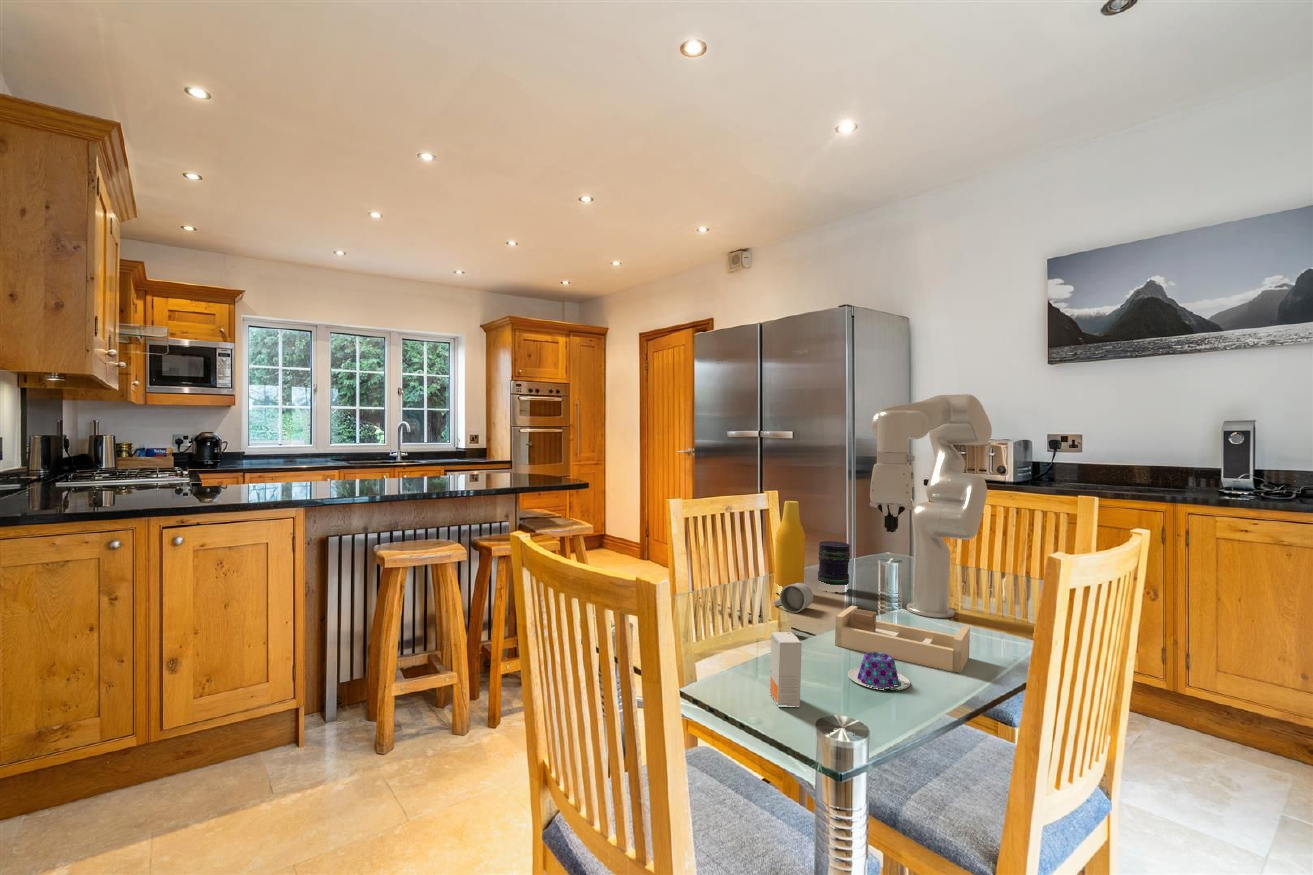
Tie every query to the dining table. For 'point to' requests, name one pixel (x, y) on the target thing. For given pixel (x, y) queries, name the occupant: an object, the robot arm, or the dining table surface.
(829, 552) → the storage jar
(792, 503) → the beer bottle
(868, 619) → the walnut block
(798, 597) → the ceramic mug
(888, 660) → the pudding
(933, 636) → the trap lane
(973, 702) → the dining table surface
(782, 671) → the skincare box
